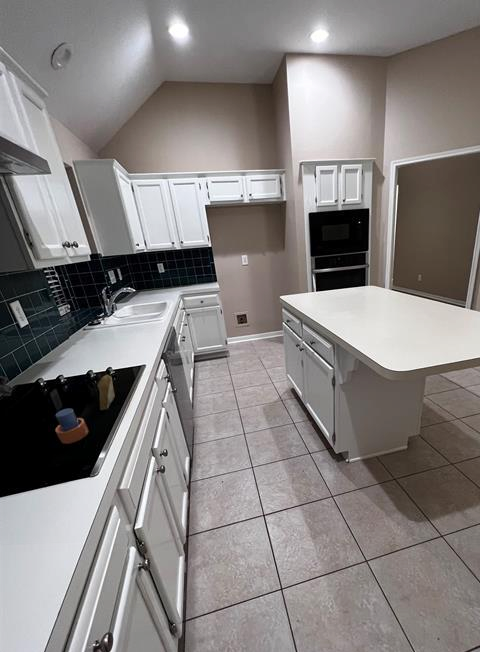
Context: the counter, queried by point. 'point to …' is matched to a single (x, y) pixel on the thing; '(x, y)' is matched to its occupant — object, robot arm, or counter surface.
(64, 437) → the ring
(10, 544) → the counter surface
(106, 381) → the rock
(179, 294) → the counter surface
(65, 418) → the blue cylinder
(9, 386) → the robot arm
